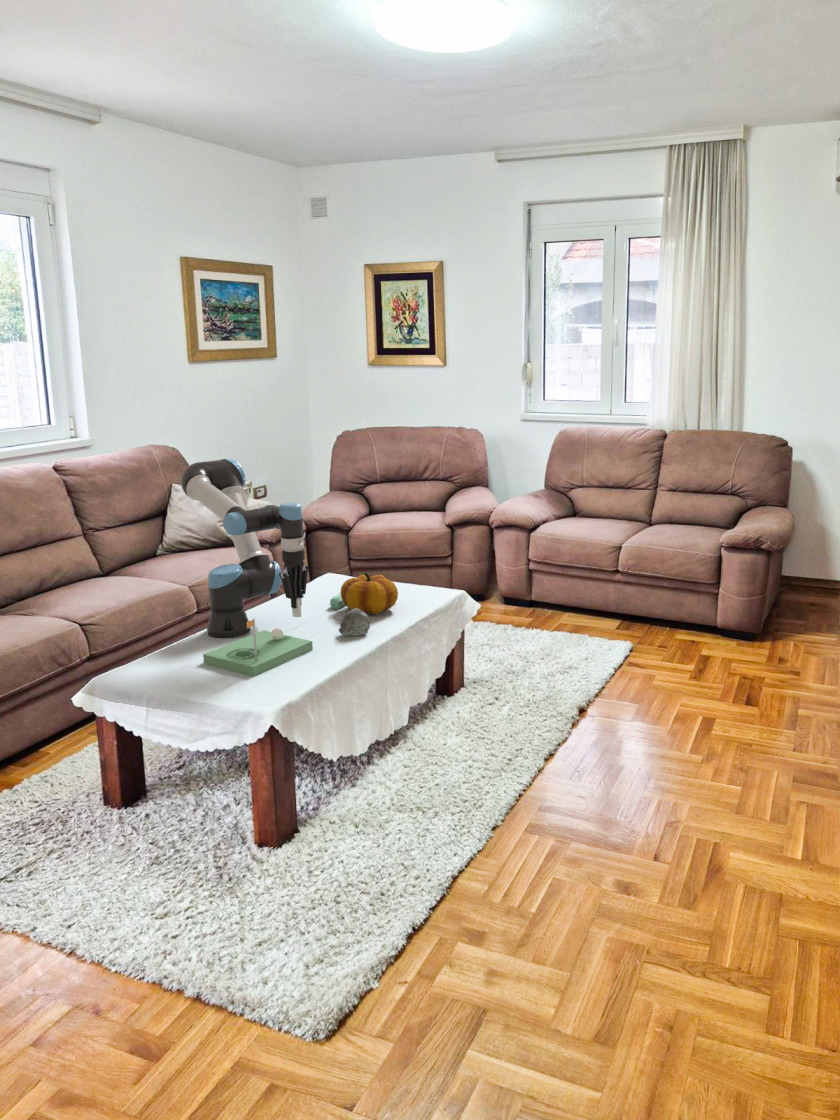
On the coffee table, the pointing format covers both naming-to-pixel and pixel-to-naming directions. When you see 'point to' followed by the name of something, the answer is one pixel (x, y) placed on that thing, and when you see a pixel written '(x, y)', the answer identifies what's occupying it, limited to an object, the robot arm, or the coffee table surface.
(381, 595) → the decorative pumpkin
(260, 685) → the coffee table surface
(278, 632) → the ball
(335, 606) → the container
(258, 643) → the green
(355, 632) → the stone
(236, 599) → the robot arm
